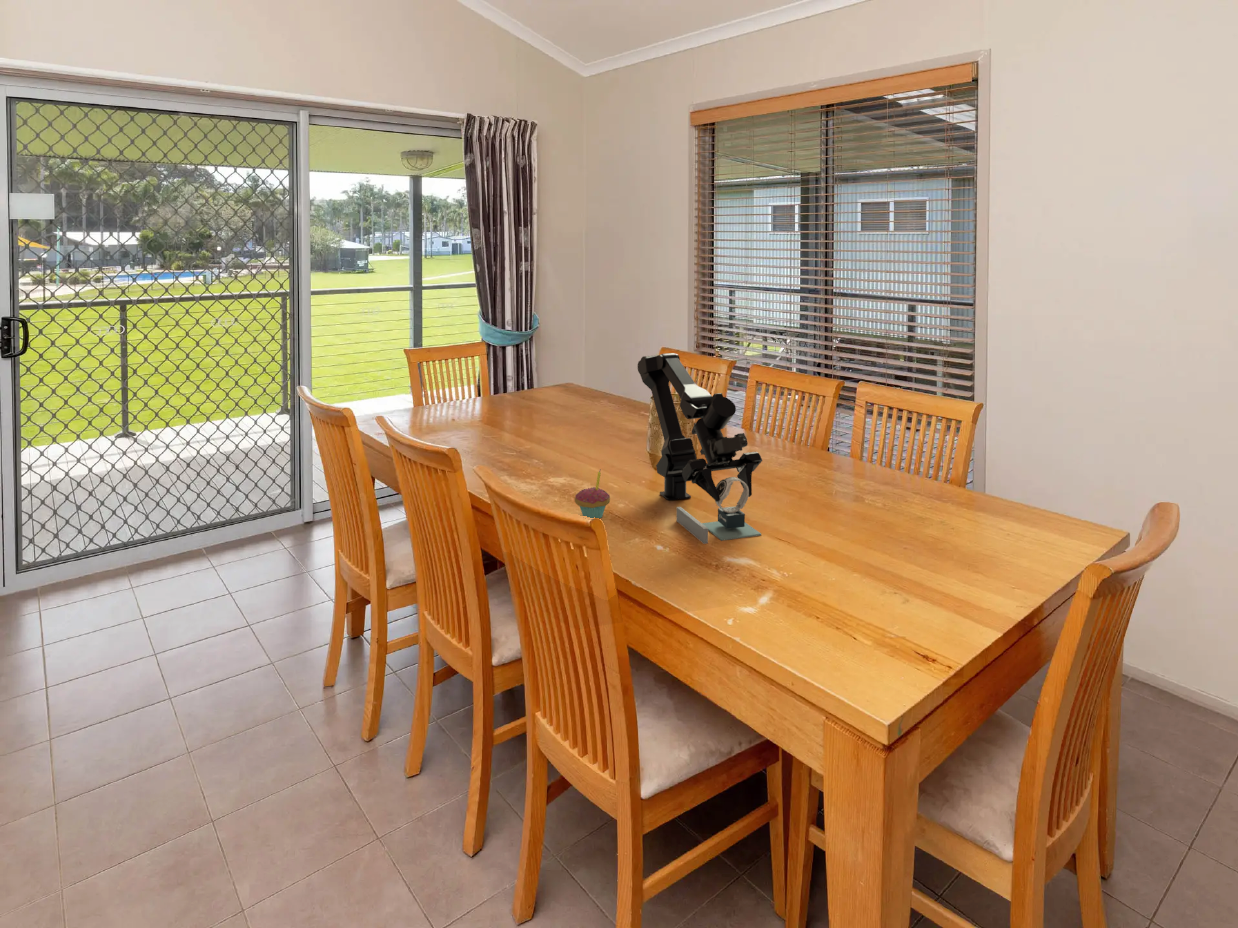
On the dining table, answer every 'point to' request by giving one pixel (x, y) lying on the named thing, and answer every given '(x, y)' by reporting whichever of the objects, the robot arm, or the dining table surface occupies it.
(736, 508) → the watch
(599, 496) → the cupcake
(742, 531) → the mat
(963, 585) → the dining table surface
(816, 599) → the dining table surface
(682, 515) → the acrylic wall
